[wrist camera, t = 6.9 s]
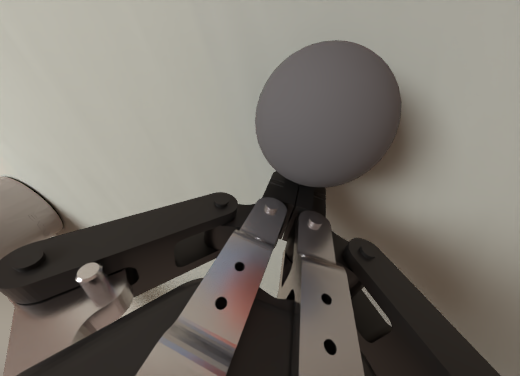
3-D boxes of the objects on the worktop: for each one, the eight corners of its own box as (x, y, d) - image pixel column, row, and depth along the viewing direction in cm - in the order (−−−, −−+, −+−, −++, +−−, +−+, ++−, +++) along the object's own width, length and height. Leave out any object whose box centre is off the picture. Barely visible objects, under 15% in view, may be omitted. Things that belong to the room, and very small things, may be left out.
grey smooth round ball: (220, 90, 5) (293, -12, 7) (238, 179, 10) (277, 105, 12) (441, 168, 4) (453, 29, 6) (341, 221, 9) (364, 136, 11)
